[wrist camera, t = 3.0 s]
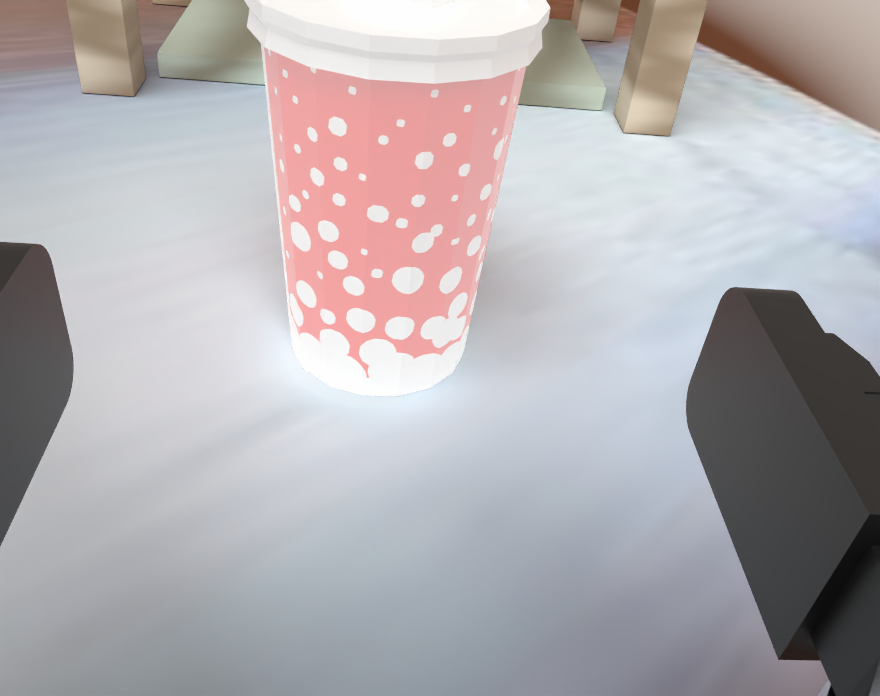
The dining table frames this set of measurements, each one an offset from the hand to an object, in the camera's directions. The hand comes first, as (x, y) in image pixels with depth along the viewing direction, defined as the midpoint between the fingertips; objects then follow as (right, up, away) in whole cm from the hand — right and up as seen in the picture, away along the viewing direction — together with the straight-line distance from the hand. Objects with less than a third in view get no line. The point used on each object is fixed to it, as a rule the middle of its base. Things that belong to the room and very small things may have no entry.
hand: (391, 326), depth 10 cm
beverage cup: (-1, 0, +12) cm, 12 cm away
